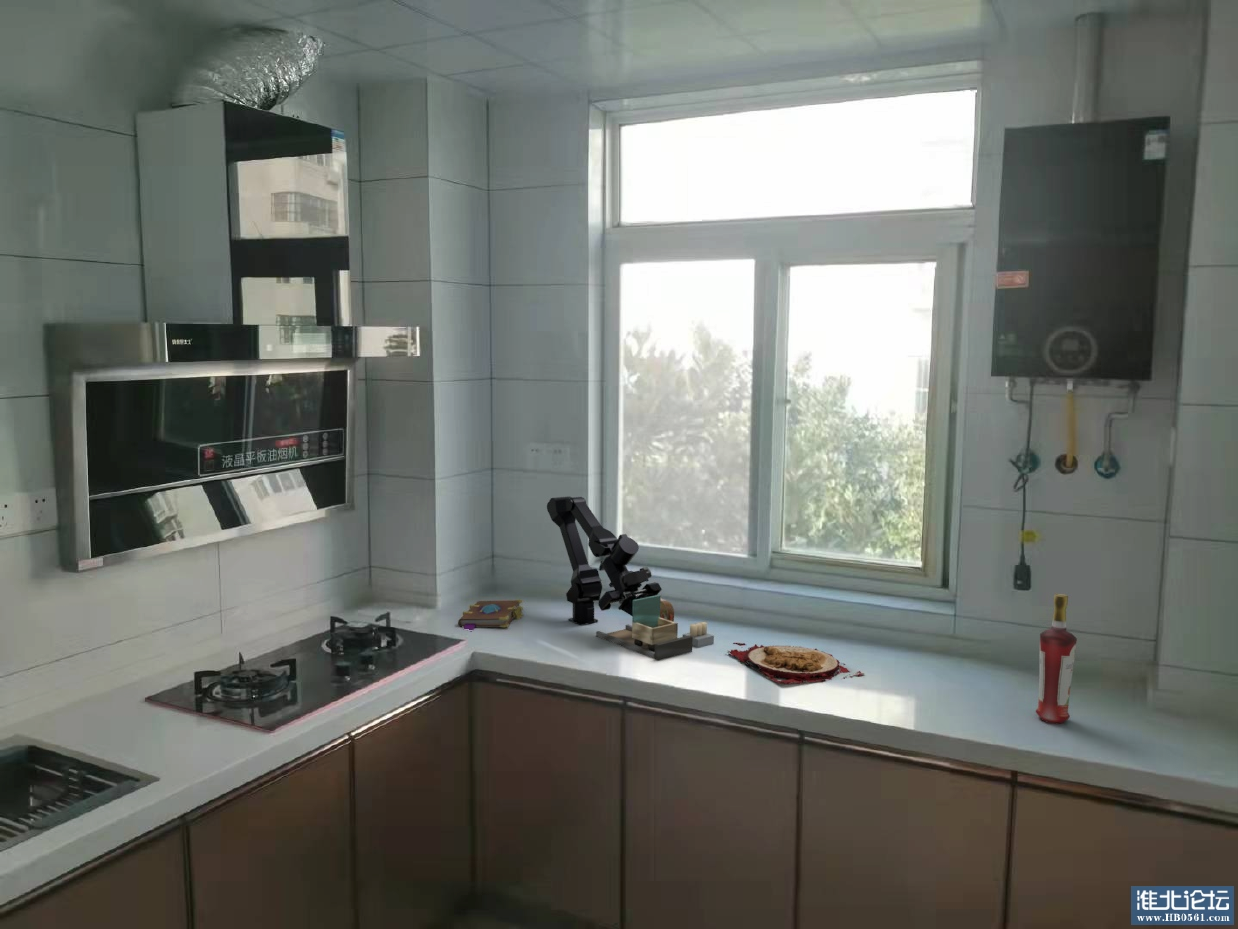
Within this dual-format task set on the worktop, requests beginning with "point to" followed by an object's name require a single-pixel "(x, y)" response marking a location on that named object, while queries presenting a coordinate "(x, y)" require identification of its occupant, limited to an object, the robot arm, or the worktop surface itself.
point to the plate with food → (791, 663)
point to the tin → (666, 610)
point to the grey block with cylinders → (700, 635)
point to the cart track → (661, 649)
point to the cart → (651, 623)
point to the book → (491, 614)
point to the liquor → (1056, 666)
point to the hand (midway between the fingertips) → (644, 622)
